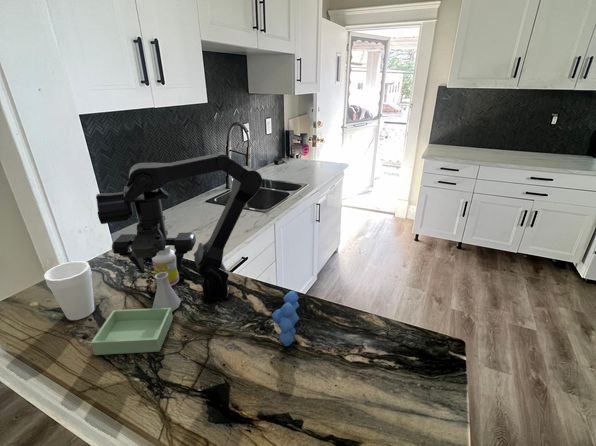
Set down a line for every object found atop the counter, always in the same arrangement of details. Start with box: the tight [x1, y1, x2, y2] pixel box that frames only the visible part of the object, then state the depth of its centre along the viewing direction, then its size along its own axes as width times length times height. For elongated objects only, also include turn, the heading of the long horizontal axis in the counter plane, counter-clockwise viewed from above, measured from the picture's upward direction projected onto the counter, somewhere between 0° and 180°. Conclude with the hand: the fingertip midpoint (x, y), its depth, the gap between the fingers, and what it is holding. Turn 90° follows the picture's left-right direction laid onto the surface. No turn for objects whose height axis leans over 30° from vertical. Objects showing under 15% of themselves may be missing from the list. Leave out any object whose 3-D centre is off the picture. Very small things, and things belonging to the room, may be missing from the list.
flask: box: [151, 272, 182, 312], centre depth 85 cm, size 7×7×10 cm
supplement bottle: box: [151, 246, 180, 287], centre depth 95 cm, size 7×7×13 cm
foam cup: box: [43, 260, 95, 321], centre depth 81 cm, size 10×9×13 cm
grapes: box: [271, 290, 300, 347], centre depth 74 cm, size 12×7×12 cm, turn 170°
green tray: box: [90, 308, 174, 356], centre depth 75 cm, size 14×11×4 cm
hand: (160, 271), depth 82 cm, fingers open, 9 cm apart
